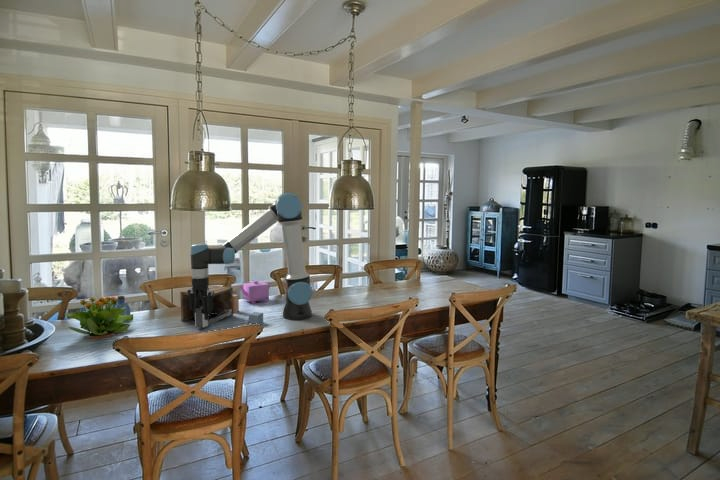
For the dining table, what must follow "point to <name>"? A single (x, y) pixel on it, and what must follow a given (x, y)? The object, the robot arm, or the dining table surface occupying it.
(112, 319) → the potted flower
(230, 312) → the dark grey angular block
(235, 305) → the l-shaped block
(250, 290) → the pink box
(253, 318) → the cube
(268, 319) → the dining table surface
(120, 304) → the perfume bottle
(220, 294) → the shelf
